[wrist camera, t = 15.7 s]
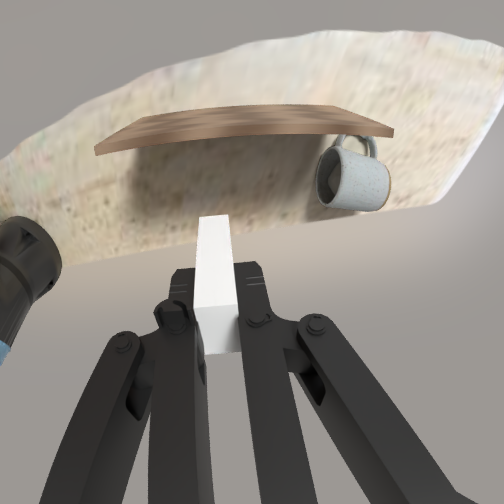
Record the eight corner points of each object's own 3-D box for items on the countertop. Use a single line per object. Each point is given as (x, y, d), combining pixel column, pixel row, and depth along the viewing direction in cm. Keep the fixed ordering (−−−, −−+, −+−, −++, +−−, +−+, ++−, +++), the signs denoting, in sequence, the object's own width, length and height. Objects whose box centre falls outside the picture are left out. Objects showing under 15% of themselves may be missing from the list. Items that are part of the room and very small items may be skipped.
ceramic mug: (361, 200, 41) (384, 225, 34) (310, 192, 39) (328, 216, 33) (380, 133, 35) (410, 147, 29) (328, 118, 34) (352, 129, 27)
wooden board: (143, 125, 32) (96, 159, 20) (142, 117, 31) (93, 146, 19) (333, 113, 33) (392, 141, 21) (333, 105, 32) (393, 128, 20)
